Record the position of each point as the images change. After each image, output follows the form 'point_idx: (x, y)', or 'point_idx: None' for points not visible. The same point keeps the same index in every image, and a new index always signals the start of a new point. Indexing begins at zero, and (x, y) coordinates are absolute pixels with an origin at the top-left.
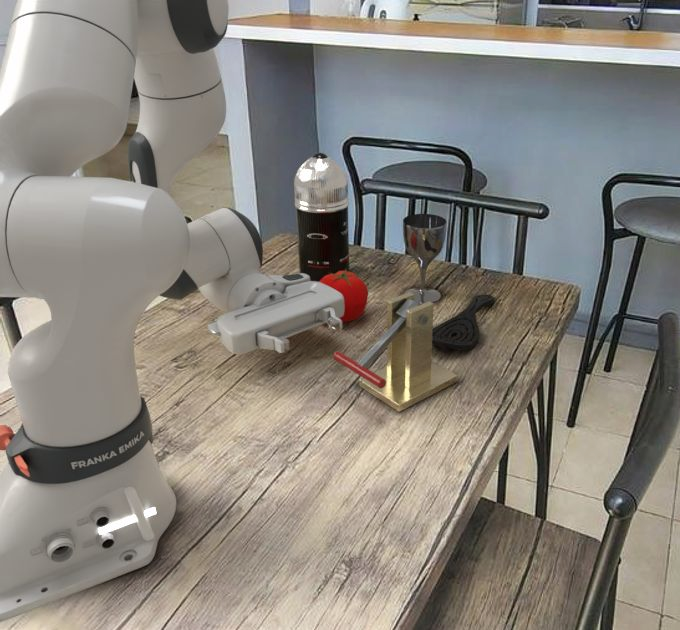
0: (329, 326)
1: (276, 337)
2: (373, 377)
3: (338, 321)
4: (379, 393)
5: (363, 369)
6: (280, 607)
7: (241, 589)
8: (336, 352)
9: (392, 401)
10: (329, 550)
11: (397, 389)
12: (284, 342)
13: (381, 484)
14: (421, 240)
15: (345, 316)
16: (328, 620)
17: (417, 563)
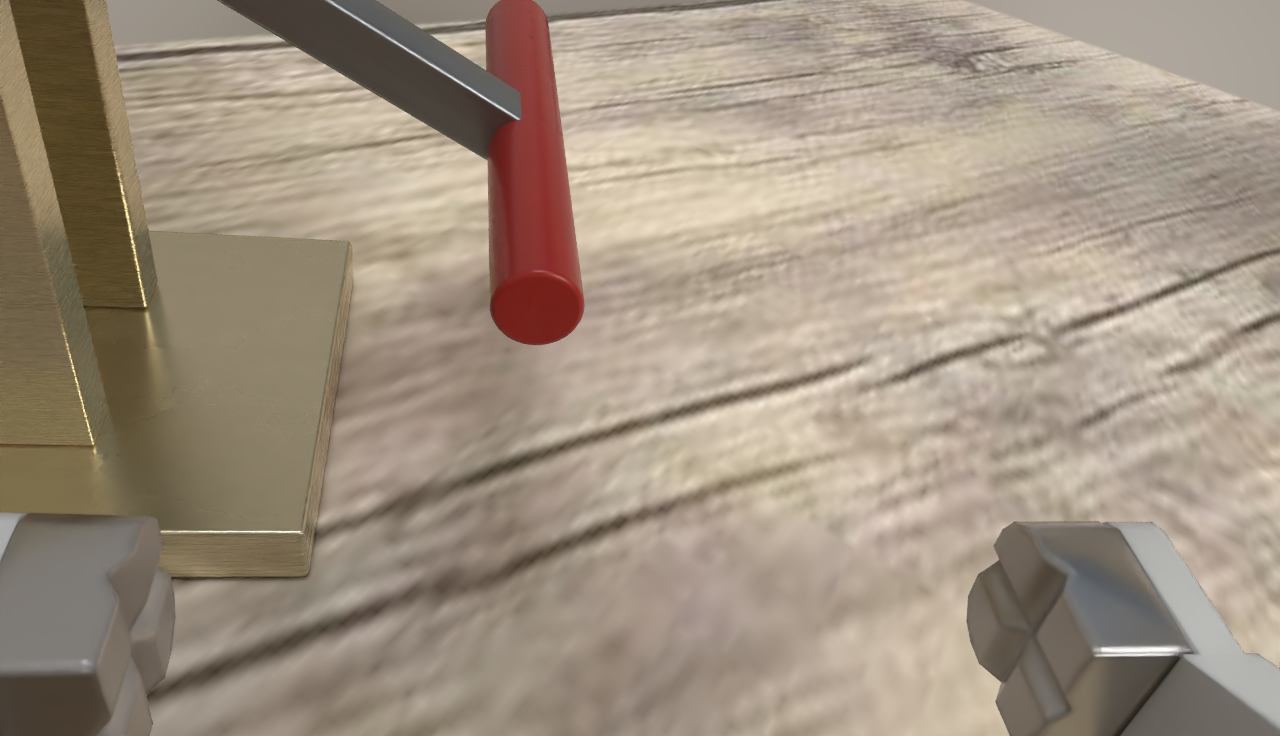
0: (136, 701)
1: (1201, 660)
2: (540, 30)
3: (33, 518)
4: (332, 362)
5: (537, 73)
6: (1155, 81)
7: (1251, 136)
8: (553, 266)
9: (347, 276)
10: (1001, 96)
11: (215, 315)
12: (1086, 522)
13: (742, 127)
14: None
15: None
16: (1054, 33)
17: (807, 4)
